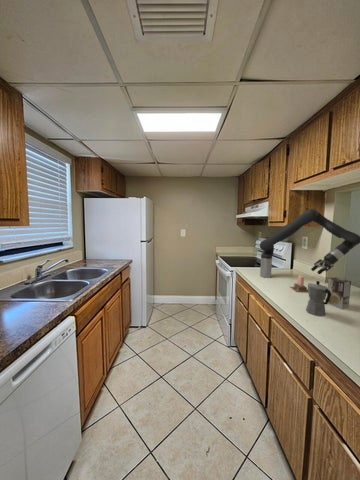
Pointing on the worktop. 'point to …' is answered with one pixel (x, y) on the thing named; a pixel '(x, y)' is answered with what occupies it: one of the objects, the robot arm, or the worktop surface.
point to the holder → (299, 288)
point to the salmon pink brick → (300, 281)
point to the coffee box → (339, 292)
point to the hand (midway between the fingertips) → (314, 271)
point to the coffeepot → (317, 299)
